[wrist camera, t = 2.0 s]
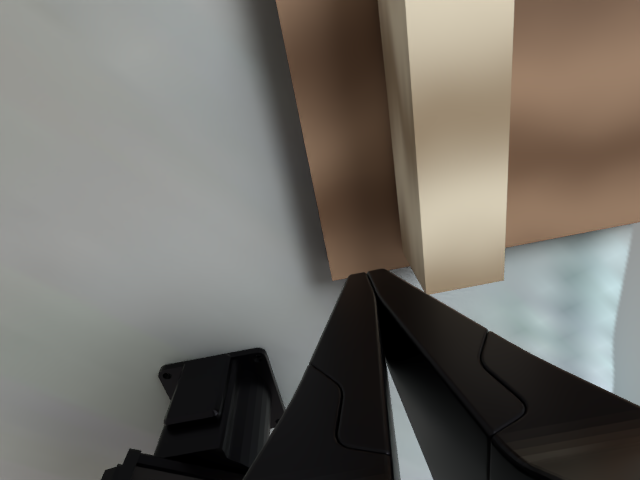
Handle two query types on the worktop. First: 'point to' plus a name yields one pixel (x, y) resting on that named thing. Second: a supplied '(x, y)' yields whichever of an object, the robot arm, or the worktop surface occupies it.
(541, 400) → the robot arm
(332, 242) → the seat board
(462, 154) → the leg
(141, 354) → the worktop surface
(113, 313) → the worktop surface
